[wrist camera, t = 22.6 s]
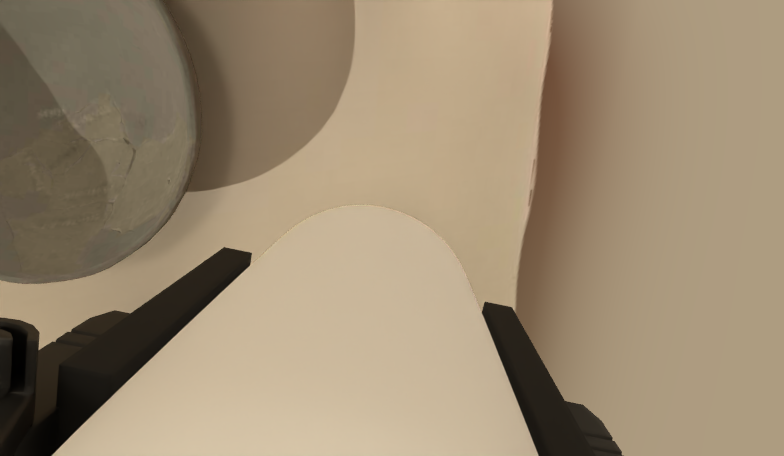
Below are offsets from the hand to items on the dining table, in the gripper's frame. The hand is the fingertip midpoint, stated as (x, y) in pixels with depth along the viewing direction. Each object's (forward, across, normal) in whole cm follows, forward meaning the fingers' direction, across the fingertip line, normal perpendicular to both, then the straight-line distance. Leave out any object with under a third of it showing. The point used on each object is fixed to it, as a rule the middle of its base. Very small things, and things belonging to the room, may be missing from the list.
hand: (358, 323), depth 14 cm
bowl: (+31, -27, +1) cm, 41 cm away
